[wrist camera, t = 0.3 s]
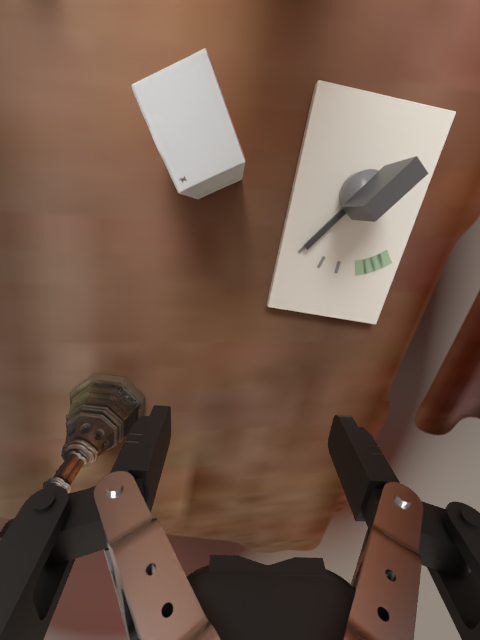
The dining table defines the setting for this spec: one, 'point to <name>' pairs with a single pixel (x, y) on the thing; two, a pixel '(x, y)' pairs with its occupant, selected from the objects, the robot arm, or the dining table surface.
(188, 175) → the small box
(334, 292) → the gauge board
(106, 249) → the dining table surface
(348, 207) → the tuning knob
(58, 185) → the dining table surface
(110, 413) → the pedestal telescope
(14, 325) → the dining table surface
